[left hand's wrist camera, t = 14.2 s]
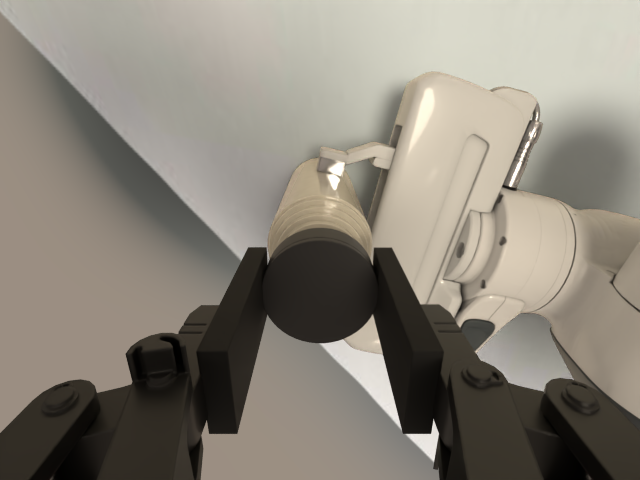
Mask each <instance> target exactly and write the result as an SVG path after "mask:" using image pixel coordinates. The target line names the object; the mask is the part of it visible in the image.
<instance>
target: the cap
mask: <svg viewBox="0 0 640 480" xmlns="http://www.w3.org/2000/svg"><path fill="white" fill-rule="evenodd" d="M262 291H263V305H264V308H265V310H266V312H267V314H268V316H269V318H270V319H271V320H272V322H273V323H274V324H275V325H276V326H277V327H278V328H279V329H281V330H282V331H283V332H284V333H286V334H288V335H289V336H291V337H294V338H296V339H299V340H302V341H306V342H311V343H329V342H335V341H339V340H342V339H345V338H347V337H349V336H351V335H353V334H354V333H356V332H357V331H359V330H360V329H361V328H362V327H363V326H364V325H365V324H366V323H367V322H368V321H369V319H370V318H371V316H372V315H373V313H374V311H375V308H376V306H377V296H378V281H377V277H376V274H375V271H374V268H373V265H372V262H371V260H370V257H369V255H368V253H367V252H366V250H365V249H364V248H363V246H362V245H361V244H360V243H359V242H358V241H357V240H355V239H354V238H352V237H351V236H349V235H347V234H346V233H343V232H341V231H338V230H334V229H330V228H310V229H306V230H302V231H299V232H297V233H295V234H293V235H291V236H289V237H288V238H286V239H285V240H284V241H282V242H281V243H280V244H279V245H278V247H277V248H276V249H275V250H274V252H273V254H272V255H271V258H270V260H269V263H268V266H267V269H266V272H265V275H264V278H263V282H262Z"/></svg>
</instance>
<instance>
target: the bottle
mask: <svg viewBox="0 0 640 480" xmlns="http://www.w3.org/2000/svg"><path fill="white" fill-rule="evenodd" d="M318 159H319V158H313V159H310V160H307V161H305V162H303V163H302V164H300V165H299V166H298V167H297V168H296V170H295V171H294V172H293V174H292V176H291V178H290V181H289V183H288V186H287V188H286V191H285V193H284V196H283V198H282V201H281V203H280V206H279V208H278V210H277V213H276V215H275V218H274V220H273V223H272V225H271V228H270V231H269V235H268V252H269V257H270V258H271V255H272V254H273V252H274V250H275V249H276V248H277V247H278V245H279V244H280V243H281V242H282V241H284V240H285V239H286V238H288V237H289V236H291V235H293V234H295V233H297V232H299V231H302V230H306V229H310V228H330V229H334V230H338V231H341V232H343V233H346V234H347V235H349V236H351V237H352V238H354V239H355V240H357V241H358V242H359V243H360V244H361V245H362V246H363V248H364V249H365V250H366V252H367V253H368V255H369V257H371V253H372V234H371V231H370V227H369V225H368V222H367V220H366V217H365V215H364V212H363V210H362V208H361V205H360V203H359V200H358V198H357V195H356V193H355V190H354V188H353V185H352V183H351V180H350V178H349V176H348V174H347V172H346V170H345V169H344V172H343V175H342V177H341V176H336V175H333V174H332V173H331V172H327V173H324V172H320V171H317V170H316V169H317V163H318Z"/></svg>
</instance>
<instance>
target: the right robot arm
mask: <svg viewBox="0 0 640 480" xmlns="http://www.w3.org/2000/svg"><path fill="white" fill-rule="evenodd" d="M532 114H533V117H532V120H530V118H531V116H532ZM539 118H540V107H539V104H538V102H537V99H536V98H535V97H534V96H533V95H532V94H530V93H528V92H526V91H522V90H518V89H514V88H510V87H504V86H502V87H496V88H493V89H491V90H487V89H484V88H482V87H480V86H478V85H475V84H473V83H471V82H468V81H465V80H463V79H460V78H457V77H454V76H451V75H448V74H444V73H441V72H427V73H424V74H422V75H420V76H418V77H416V78H415V79H413V80H412V81H410V82H409V83H408V84H407V85H406V87H405V90H404V93H403V97H402V100H401V104H400V107H399V111H398V114H397V118H396V121H395V124H394V128H393V131H392V135H391V138H390V142H389V145H386V144H382V143H378V142H370V143H367V144H364V145H361V146H358V147H355V148H351V149H348V150H346V152H344V151H340V150H336V149H332V148H327V147H321V149H320V154H319V159H318V163H317V169H316V170H317V171H320V172H324V173H327V172H331V173H332V174H333V175H336V176H341V177H342V175H343V172H344V168H345V164H346V165H348V164H352V163H355V162H358V161H362V160H365V159H369V161H370V162H371V163H372V164H373V165H374V166H375V167H379V168H382V169H381V173H380V176H379V180H378V183H377V187H376V190H375V193H374V197H373V200H372V204H371V207H370V211H369V214H368V218H367V222H368V225H369V227H370V231H371V234H372V253H371V257H370V260H371V262H372V265H373V251H374V247H392V249H393V251H394V253H395V255H396V257H397V259H398V261H399V263H400V265H401V267H402V269H403V271H404V273H405V275H406V277H407V279H408V281H409V283H410V285H411V287H412V289H413V291H414V292H415V294H416V296H417V298H418V300H419V302H420V304H439V305H441V306H442V307H443V308H445V309H446V310H447V311H449V312H450V313H451V314H452V316H453V318H454V319H455V321H456V322H457V325H458V326H459V327H460V329H461V330H462V333H464V335H465V337H466V338H467V340H468V341H469V343H470V345H471V346H472V348H473V349H474V351H475V353H477V352H478V351H479V350H480V349H481V348H482V347H483V346H484V344H485V343H486V342H487V341H488V340H489V339H490V338H491V337H492V336H493V335H494V334H496V333H497V332H498V331H499V330H500V329H501V328H502V327H503V326H504V325H506V324H507V323H508V322H509V321H511V320H512V319H513V318H515V317H516V316H517V315H518V314H519V313H535V314H539V315H541V316H543V317H544V318H546V319H547V320H548V321H550V323H551V325H552V327H551V328H550V332H551V335H552V337H553V340H554V342H555V344H556V346H557V348H558V350H559V352H560V354H561V356H562V358H563V360H564V361H565V363H566V365H567V367H568V369H569V371H570V373H571V375H572V377H573V379H574V380H575V381H578V382H581V383H584V384H586V385H588V386H590V387H592V388H594V389H595V390H597V391H599V392H600V393H601V394H602V395H604V396H605V397H606V398H607V399H609V400H610V401H611V402H612V403H613V404H614V405H615V406H616V407H617V408H618V409H619V410H620V411H621V412H622V413H623V414H624V415H625V416H626V417H627V418H628V419H629V420H630V421H631V422H632V423H633V424H634V425H635V426H636V427H637V428H638V429H639V430H640V219H637V218H633V217H630V216H626V215H622V214H618V213H614V212H610V211H606V210H599V209H585V210H577V209H574V208H572V207H571V206H569V205H568V204H566V203H564V202H562V201H560V200H557V199H554V198H550V197H546V196H542V195H538V194H533V193H529V192H525V191H521V190H517V189H516V188H517V186H518V184H519V182H520V179H521V177H522V175H523V172H524V170H525V168H526V165H527V162H528V158H529V154H530V152H531V150H532V148H533V146H534V143H536V142H537V140H538V138H539V136H540V133H541V130H542V126H543V123H542V122H539ZM344 340H345V341H346V342H347V343H348V344H349V345H350V346H351V347H352V348H354V349H357V350H361V351H366V352H371V353H377V354H383V352H382V348H381V344H380V340H379V336H378V332H377V328H376V324H375V320H374V317H373V315H372V316H371V318H370V319H369V321H368V322H367V323H366V324H365V325H364V326H363V327H362V328H361V329H360V330H359V331H357V332H356V333H354V334H353V335H351V336H349V337H347V338H345V339H344Z"/></svg>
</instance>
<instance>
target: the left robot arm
mask: <svg viewBox="0 0 640 480" xmlns="http://www.w3.org/2000/svg"><path fill="white" fill-rule="evenodd" d="M267 266H268V264H267V247H248V249H247V251H246V253H245V255H244V257H243V259H242V261H241V263H240V265H239V267H238V269H237V271H236V273H235V275H234V277H233V279H232V281H231V283H230V285H229V287H228V289H227V291H226V293H225V295H224V297H223V299H222V301H221V303H220V305H201V306H200V307H198V308H197V309H196V310H194V311H193V312H192V313H190V315H189V316H188V318H187V319H186V321H185V323H184V326H182V327H181V329H180V331H179V334H174V333H160V334H155V335H151V336H148V337H146V338H144V339H142V340H140V341H138V342H137V343H135V344H134V345H133V346H131V347H130V349H129V350H128V351H127V353H126V358H127V362H128V366H129V370H130V374H131V378H132V381H133V382H132V384H131V385H128V386H125V387H121V388H117V389H113V390H108V391H104V392H100V393H97V392H96V389H95V386H94V385H93V384H92V383H91V382H90V381H86V380H73V381H67V382H64V383H61V384H58V385H55V386H54V387H52V388H50V389H48V390H46V391H44V392H43V393H41V394H40V395H39V396H38V397H36V398H35V399H34V400H33V401H32V402H31V403H30V404H29V405H28V406H27V407H26V408H25V409H24V410H23V411H22V412H21V413H20V414H19V415H18V416H17V417H16V418H15V419H14V420H13V421H12V422H11V423H10V424H9V425H8V426H7V427H6V428H5V429H4V430H3V431H2V432H1V433H0V480H200V479H201V468H202V457H203V444H202V438H201V434H202V432H203V429H204V426H205V423H206V420H207V423H208V429H209V434H237V433H238V429H239V425H240V421H241V417H242V413H243V409H244V405H245V401H246V397H247V393H248V389H249V385H250V381H251V377H252V373H253V369H254V365H255V361H256V357H257V353H258V349H259V345H260V341H261V337H262V333H263V329H264V325H265V321H266V317H267V312H266V310H265V308H264V305H263V291H262V282H263V278H264V275H265V272H266V269H267ZM373 268H374V271H375V274H376V277H377V281H378V296H377V306H376V308H375V311H374V313H373V317H374V320H375V324H376V328H377V332H378V336H379V340H380V344H381V348H382V352H383V356H384V360H385V364H386V368H387V372H388V376H389V380H390V384H391V388H392V392H393V396H394V400H395V404H396V408H397V412H398V416H399V420H400V424H401V428H402V432H403V434H431V431H432V425H433V418H434V421H435V424H436V426H437V429H438V432H439V437H438V443H437V449H436V455H435V461H434V468H433V469H436V470H438V467H439V478H440V480H640V430H639V429H638V428H637V427H636V426H635V425H634V424H633V423H632V422H631V421H630V420H629V419H628V418H627V417H626V416H625V415H624V414H623V413H622V412H621V411H620V410H619V409H618V408H617V407H616V406H615V405H614V404H613V403H612V402H611V401H610V400H609V399H607V398H606V397H605V396H604V395H602V394H601V393H600V392H599V391H597V390H595V389H594V388H592V387H590V386H588V385H586V384H584V383H581V382H578V381H575V380H572V379H563V378H558V379H553V380H550V381H549V382H548V383H547V384H546V386H545V390H544V392H542V391H538V390H534V389H529V388H525V387H521V386H517V385H514V384H510V383H508V381H507V380H506V378H505V377H504V375H503V374H502V373H501V372H500V371H499V370H498V369H496V368H495V367H494V366H492V365H490V364H488V363H486V362H483V361H480V359H479V357H478V356H477V354H476V353H475V351H474V349H473V348H472V346H471V345H470V343H469V341H468V340H467V338H466V337H465V335H464V333H462V330H461V329H460V327H459V326H458V325H457V322H456V321H455V319H454V318H453V316H452V314H451V313H450V312H449V311H447V310H446V309H445V308H443V307H442V306H441V305H439V304H420V302H419V300H418V298H417V296H416V294H415V292H414V291H413V289H412V287H411V285H410V283H409V281H408V279H407V277H406V275H405V273H404V271H403V269H402V267H401V265H400V263H399V261H398V259H397V257H396V255H395V253H394V251H393V249H392V247H374V251H373Z"/></svg>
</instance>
